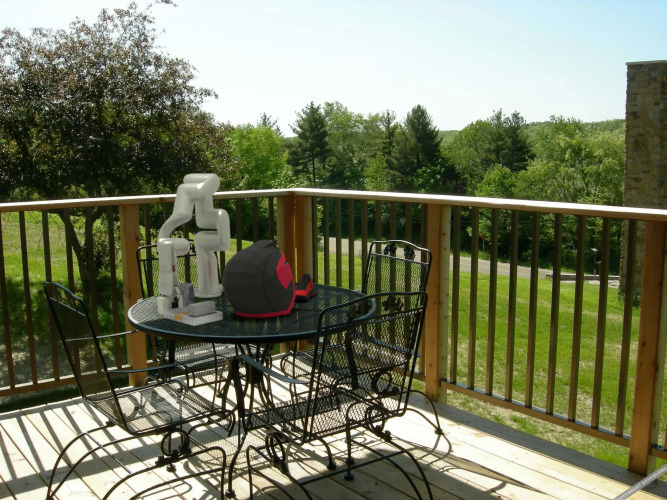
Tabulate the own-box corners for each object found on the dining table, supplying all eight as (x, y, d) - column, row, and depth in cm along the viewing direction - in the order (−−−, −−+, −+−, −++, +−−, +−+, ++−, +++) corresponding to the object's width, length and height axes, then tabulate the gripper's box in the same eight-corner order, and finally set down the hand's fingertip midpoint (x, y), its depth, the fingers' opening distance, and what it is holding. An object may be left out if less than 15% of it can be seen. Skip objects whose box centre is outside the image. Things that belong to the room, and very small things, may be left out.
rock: (198, 305, 294) (196, 283, 293) (187, 307, 290) (186, 285, 289) (184, 302, 301) (183, 281, 300) (174, 305, 297) (173, 282, 296)
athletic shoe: (289, 303, 297) (288, 277, 296) (301, 294, 317) (301, 270, 315) (305, 303, 296) (304, 277, 294) (316, 294, 315) (316, 270, 314)
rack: (163, 317, 272) (162, 300, 271) (191, 311, 282) (190, 294, 281) (193, 326, 257) (193, 307, 256) (222, 319, 268) (221, 301, 267)
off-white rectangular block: (158, 313, 280) (157, 297, 280) (177, 309, 288) (176, 294, 287) (163, 314, 278) (162, 298, 277) (182, 310, 285) (182, 295, 284)
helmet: (311, 287, 288) (292, 230, 273) (275, 333, 266) (252, 274, 251) (263, 282, 302) (243, 228, 287) (225, 326, 280) (201, 269, 265)
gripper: (149, 268, 283) (152, 307, 286) (172, 272, 272) (174, 313, 274) (164, 265, 289) (166, 305, 291) (187, 269, 277) (189, 310, 279)
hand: (170, 308), depth 283 cm, fingers open, 6 cm apart
